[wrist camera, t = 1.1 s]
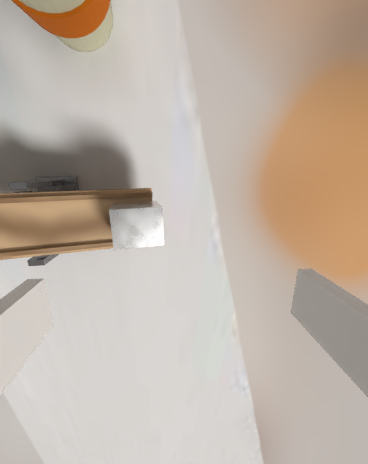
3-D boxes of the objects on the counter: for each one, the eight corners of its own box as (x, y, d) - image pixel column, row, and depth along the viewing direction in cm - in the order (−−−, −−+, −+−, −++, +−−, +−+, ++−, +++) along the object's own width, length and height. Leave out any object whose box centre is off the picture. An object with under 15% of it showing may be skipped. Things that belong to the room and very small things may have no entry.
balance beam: (-138, 197, 23) (-258, 207, 16) (150, 187, 31) (157, 190, 23) (-107, 267, 25) (-198, 303, 18) (153, 241, 33) (160, 259, 26)
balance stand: (-40, 178, 33) (-124, 180, 23) (76, 176, 34) (41, 177, 25) (-18, 248, 36) (-84, 275, 27) (87, 243, 38) (60, 267, 28)
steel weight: (112, 203, 28) (108, 209, 23) (155, 200, 30) (162, 206, 24) (116, 236, 30) (113, 250, 24) (157, 232, 31) (164, 245, 25)
